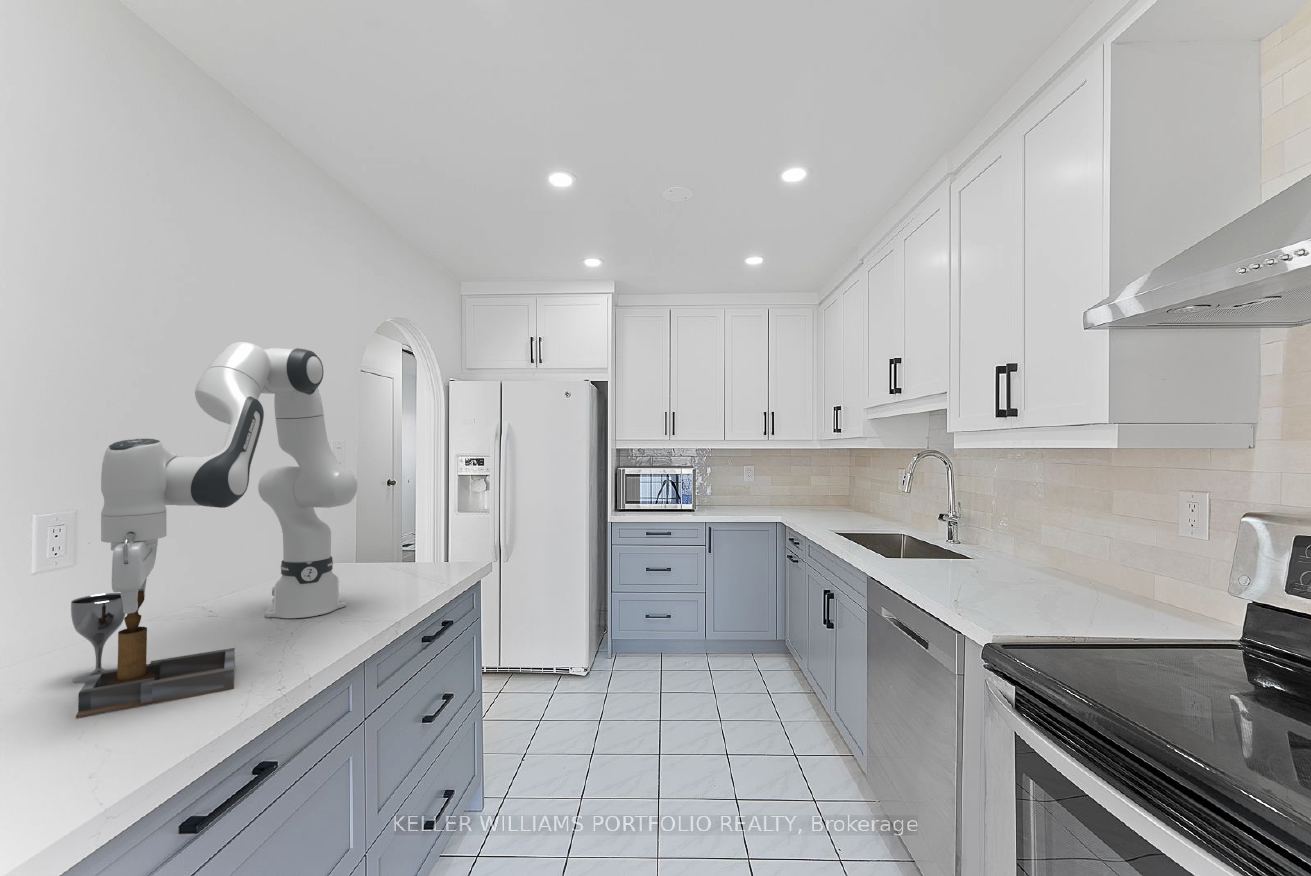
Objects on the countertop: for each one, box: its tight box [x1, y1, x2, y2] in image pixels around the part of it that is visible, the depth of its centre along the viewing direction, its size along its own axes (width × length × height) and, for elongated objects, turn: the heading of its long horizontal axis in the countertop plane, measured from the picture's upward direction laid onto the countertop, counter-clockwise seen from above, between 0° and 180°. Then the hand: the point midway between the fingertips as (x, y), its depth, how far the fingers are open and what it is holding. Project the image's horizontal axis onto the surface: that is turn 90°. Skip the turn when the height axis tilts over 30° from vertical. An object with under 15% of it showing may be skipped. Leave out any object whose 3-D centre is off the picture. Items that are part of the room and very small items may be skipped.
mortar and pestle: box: [107, 591, 156, 686], centre depth 105 cm, size 7×6×18 cm
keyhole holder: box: [75, 647, 236, 719], centre depth 108 cm, size 14×21×4 cm, turn 125°
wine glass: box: [70, 592, 126, 684], centre depth 114 cm, size 8×8×15 cm
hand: (134, 605), depth 105 cm, fingers open, 8 cm apart
